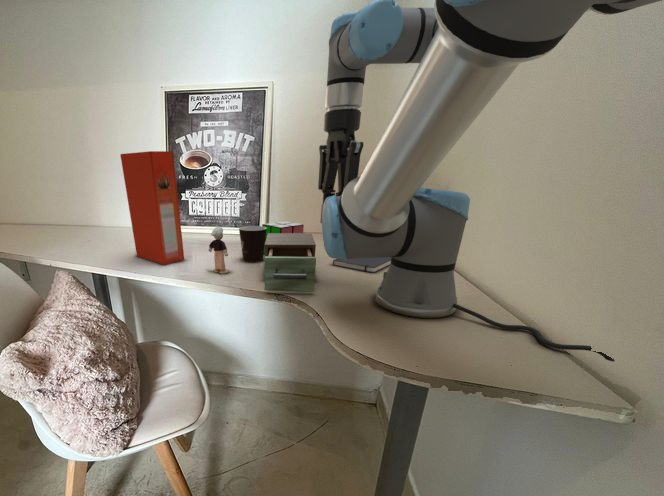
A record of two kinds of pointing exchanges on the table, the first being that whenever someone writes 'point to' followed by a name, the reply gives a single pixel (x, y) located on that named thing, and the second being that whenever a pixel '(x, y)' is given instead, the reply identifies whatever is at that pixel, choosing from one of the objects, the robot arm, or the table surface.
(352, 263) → the notebook
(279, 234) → the cabinet
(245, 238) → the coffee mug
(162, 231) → the file binder
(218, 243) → the grandmother figurine
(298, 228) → the puzzle cube
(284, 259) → the drawer
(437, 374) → the table surface
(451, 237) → the robot arm
